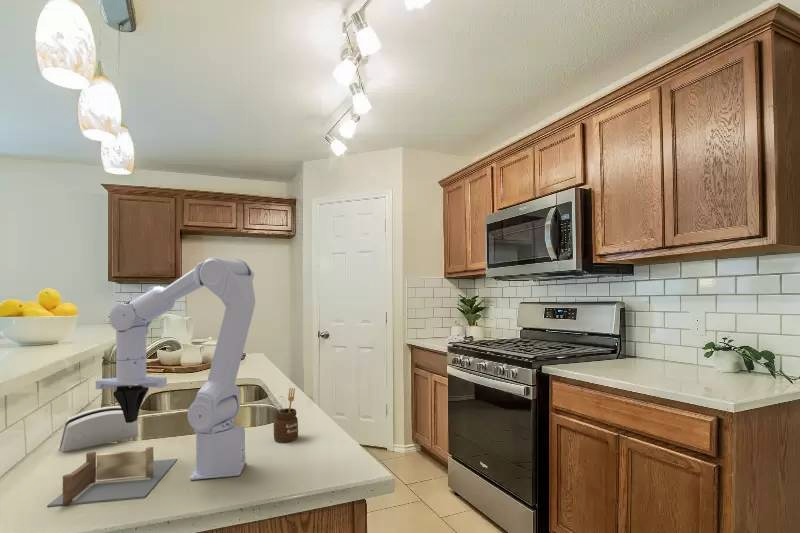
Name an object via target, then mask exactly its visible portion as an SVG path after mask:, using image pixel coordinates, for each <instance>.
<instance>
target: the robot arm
mask: <svg viewBox="0 0 800 533" xmlns="http://www.w3.org/2000/svg"><path fill="white" fill-rule="evenodd" d="M254 277H255V272H254V271H253V270H252V269H251V267H250V265H249V264H248V263H247V262H246V261H245V260H242V259H230V258H229V259H227V258H220V257H214V256H213V257H209V258H206V259H205V260H204V261H201V262H199V263H197V264H196V265H195V267H194V268H192V269H191V270H190V271H188V272H187V273H185V274H184V275H182V276H181V277H179V278H178V279H176V280H175V281H173V282H172V283H170V284H169V285H168V286H166V287H164V286H161V285H158V286H153V285H152V286H150V287H148V288H147V291H146V292H145V293H143V294H142V295H140V296H137V297H136V296H135V297H133V298H131V301H130V302H129V303H117V304H115V306H114V307H113V308H112V309H111V311H110V312H109V317H108V318H109V323H110V325H111V327H112V328H113V329H114V330H115V358H116V359H115V363H116V364H115V372H116V373H115V376H116V377H113V378H111V377H110V378H100V379H96V380H95V390H102V389H115V391H113V393H112V394H113V397H114V398H115V399H116V401H117V402H118V404H119V406H121V409H122V411H123V414H124V417H125V421H126V423H132V422H134V421H136V420H137V421H138V416H139V413H140V409H141V406H142V403H143V401H144V400H145V397H146V395H147V394H148V391H149V390H150V388H158V389H161V388H165V387H167V383H168V382H167V376H164V377H163V376H147V336H148V334H149V328H150V326H151V324H152V322H153V320H155V319H157V318H158V317H160V316H162V315H164V314H165V313H167V312H169V311H170V310H172V309H173V308H174V307H175V303H176V301H177V300H179V299H181V298H183V297H185V296H187V295H188V294H189V295H190V294H191V293H193V292H195V291H197V290H198V289H200V288H202V287H205V288H207V289H208V290H209V291H211V292H212V294H214V295H215V296H217V298H219V299H220V300H221V302H222V303H223V305H224V306H225V310H224V314H223V318H222V320H221V326H220V329H219V333H218V338H217V342H216V346H215V348H214V352H213V353H214V354H213V357H212V360H211V361H212V362H211V365H210V368H209V373H208V377H207V380H206V381H205V383H204V384H203V385H202V386H201V388H200V389H199V390H198V391H197V392H196V397H195V399H194V401H193V402H192V403H191V404H190V406H189V408H188V410H187V420H188V423H189V425H190V427H191V428H192V429H193V431H194V433H195V451H196V452H195V460H196V461H195V466H196V468H195V469H194V471H193V473H192V474H191V475H190V477H189V480H190V481H193V480H194V481H195V480H206V479H215V478H227V477H236V476H237V477H238V476H240V475H241V474H242V471H243V469H244V468H245V467H244V466H245V464H246V462H247V461H246V431H245V430H246V429H245V426H244V425H234V424H235V418H236V416H238V414H239V412H240V408H241V403H240V393H241V389H240V387H239V386H238V385H237V384H236V380H237V376H238V373H239V369H240V366H241V361H242V357H243V353H244V351H245V350H244V349H245V346H246V342H247V338H248V334H249V331H250V330H249V329H250V326H251V323H252V318H253V316H254V310H255V308H256V295H255V290H254V284H253V281H254Z"/></svg>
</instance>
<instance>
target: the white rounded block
mask: <svg viewBox="0 0 800 533" xmlns="http://www.w3.org/2000/svg"><path fill="white" fill-rule="evenodd" d="M138 423H139V421H138V419H137V420H136V421H134V422H132V423H126V421H125V417H124V414H123V411H122V409H121V406H120V405H113V406H103V407H98V408H94V409H90V410H86V411H83V412H80V413H77V414H75V415H73V416H70V417H68V418H66V420H65V423H64V427H63V431H62V435H61V440H60V444H59V448H60V449H59V450H60V452H61V453H66V452H71V451H76V450H80V449H85V448H88V447H89V448H90V447H93V446H95V447H96V446H99V445H103V444H108V443H112V442H117V441H121V440H127V439H133V438H136V437H139V424H138Z"/></svg>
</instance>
